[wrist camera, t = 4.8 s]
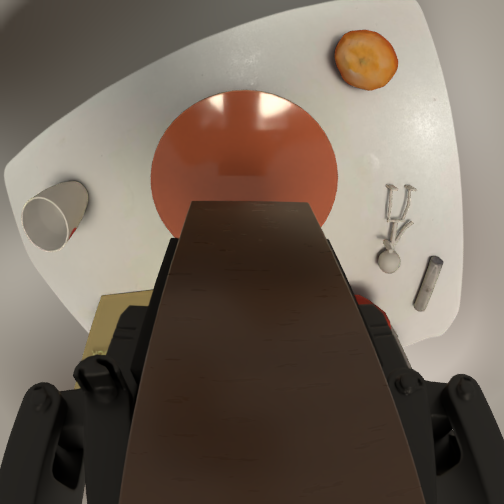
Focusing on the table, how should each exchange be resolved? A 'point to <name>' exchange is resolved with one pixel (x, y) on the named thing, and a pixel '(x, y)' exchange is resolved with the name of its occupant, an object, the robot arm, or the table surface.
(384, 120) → the table surface
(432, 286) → the rod
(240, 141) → the orange pedestal stand
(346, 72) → the fruit
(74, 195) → the cup
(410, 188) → the figurine
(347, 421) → the walnut block
